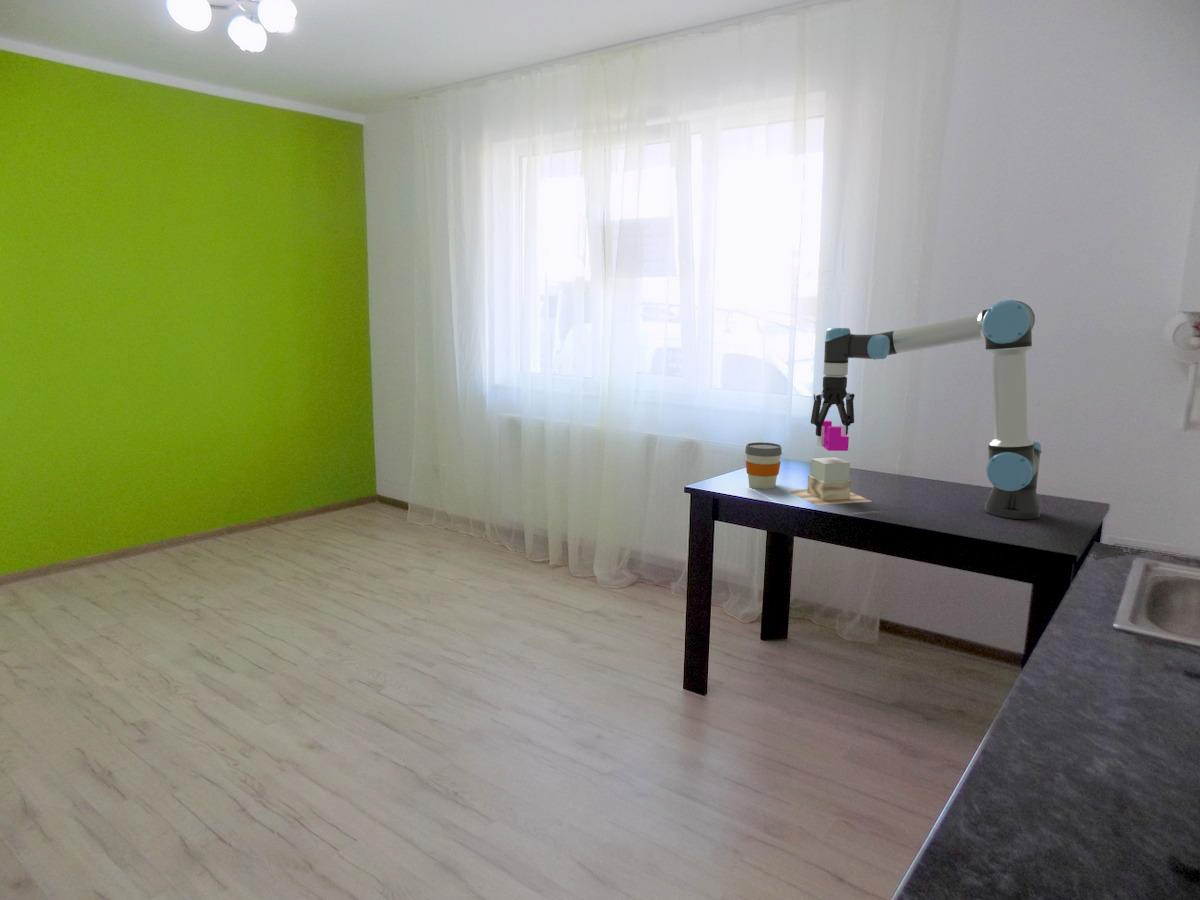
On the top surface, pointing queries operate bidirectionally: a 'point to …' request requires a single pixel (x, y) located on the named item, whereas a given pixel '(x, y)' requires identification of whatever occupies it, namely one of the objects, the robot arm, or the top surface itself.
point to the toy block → (834, 438)
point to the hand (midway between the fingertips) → (831, 445)
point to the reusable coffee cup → (763, 464)
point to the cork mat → (817, 501)
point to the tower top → (830, 469)
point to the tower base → (829, 489)
